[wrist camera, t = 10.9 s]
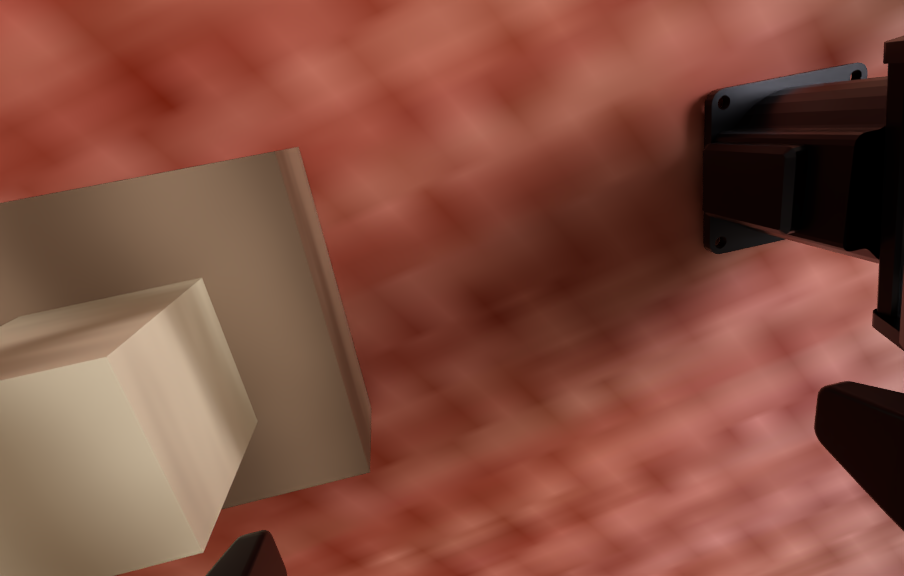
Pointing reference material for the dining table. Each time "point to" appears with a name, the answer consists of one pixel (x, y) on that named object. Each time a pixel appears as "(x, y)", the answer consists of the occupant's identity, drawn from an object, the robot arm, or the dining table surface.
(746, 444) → the dining table surface
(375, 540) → the dining table surface
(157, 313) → the birch cube
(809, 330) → the dining table surface
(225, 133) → the dining table surface
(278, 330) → the beige flat block
